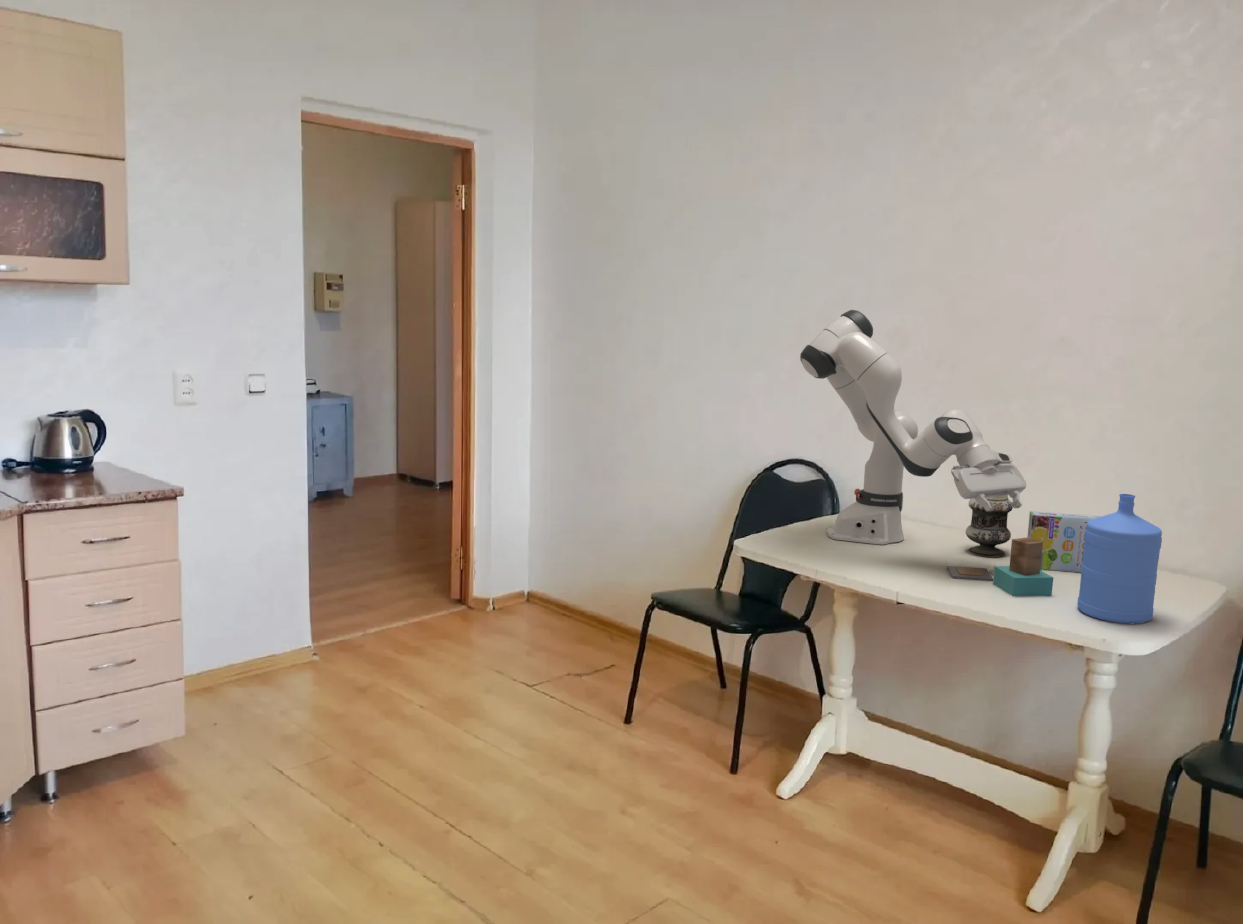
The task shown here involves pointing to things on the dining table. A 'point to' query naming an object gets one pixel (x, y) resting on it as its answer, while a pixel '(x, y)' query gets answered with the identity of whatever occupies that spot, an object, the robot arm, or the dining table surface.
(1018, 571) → the walnut block
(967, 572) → the card
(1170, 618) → the dining table surface
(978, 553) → the apothecary jar
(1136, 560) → the water jug
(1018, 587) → the teal base block
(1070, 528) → the snack box
